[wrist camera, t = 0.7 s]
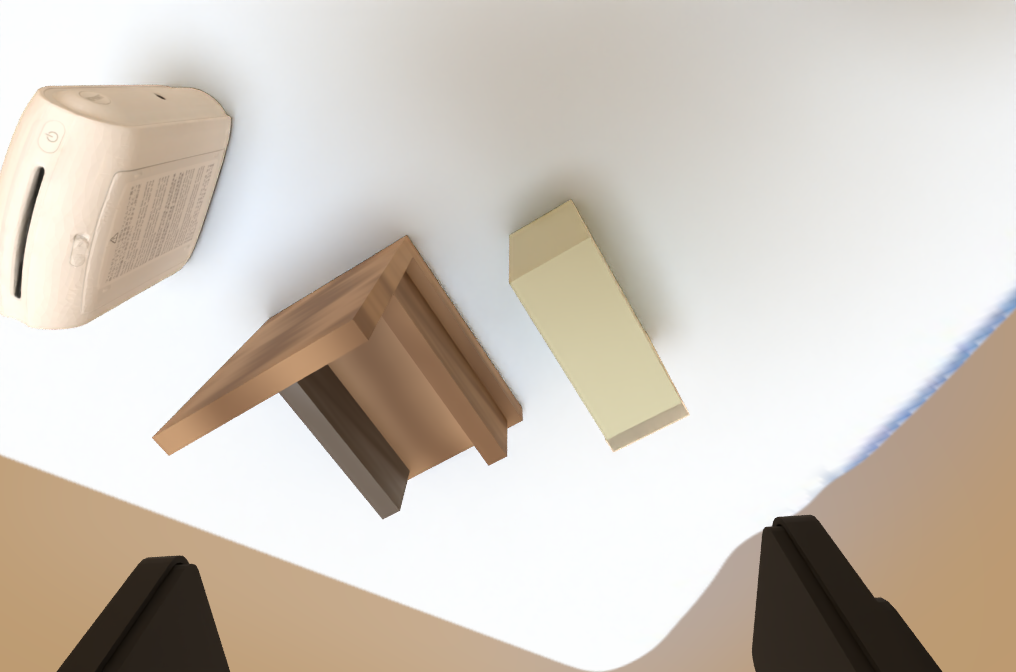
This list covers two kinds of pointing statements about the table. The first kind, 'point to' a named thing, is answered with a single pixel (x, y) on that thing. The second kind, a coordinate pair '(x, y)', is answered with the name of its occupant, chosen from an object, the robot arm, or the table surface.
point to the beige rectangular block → (591, 327)
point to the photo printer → (103, 196)
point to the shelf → (367, 378)
